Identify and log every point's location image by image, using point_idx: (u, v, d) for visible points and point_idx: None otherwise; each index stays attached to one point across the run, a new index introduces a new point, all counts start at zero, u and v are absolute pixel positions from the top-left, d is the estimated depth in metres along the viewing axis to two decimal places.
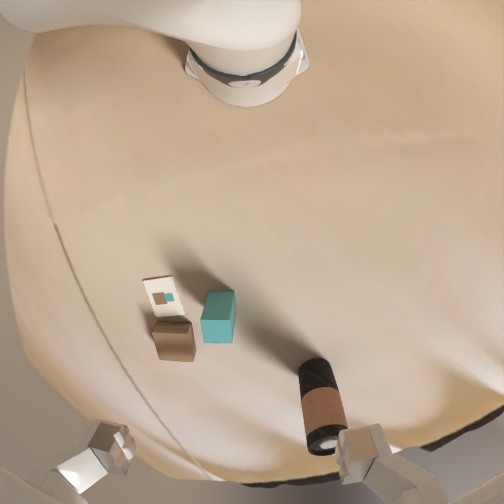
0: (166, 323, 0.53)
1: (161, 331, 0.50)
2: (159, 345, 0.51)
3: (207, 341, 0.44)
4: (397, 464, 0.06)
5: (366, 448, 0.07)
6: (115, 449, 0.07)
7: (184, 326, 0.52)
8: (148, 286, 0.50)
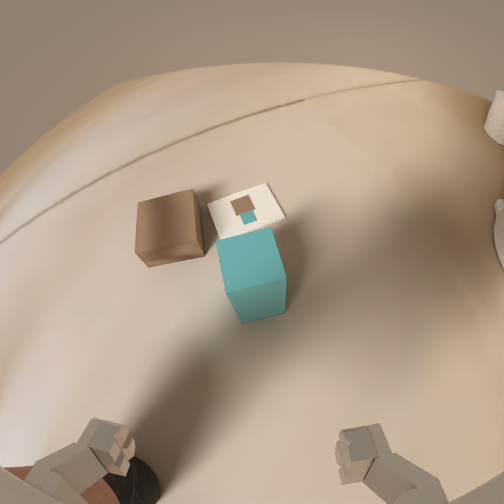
0: (200, 218, 0.34)
1: (194, 203, 0.32)
2: (166, 200, 0.32)
3: (220, 246, 0.22)
4: (397, 464, 0.06)
5: (366, 448, 0.07)
6: (115, 449, 0.07)
7: (201, 241, 0.32)
8: (259, 190, 0.36)
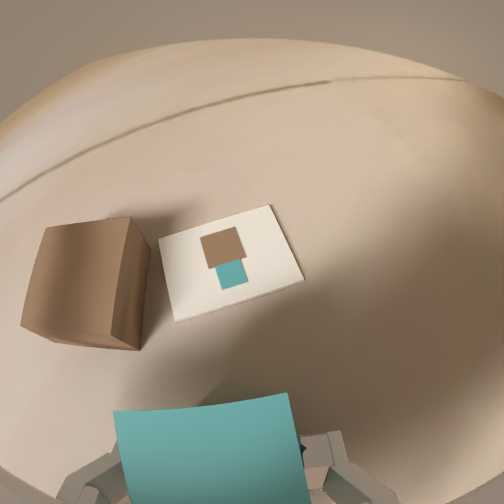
0: (143, 272, 0.17)
1: (127, 247, 0.15)
2: (83, 232, 0.15)
3: (125, 434, 0.06)
4: (352, 474, 0.06)
5: (322, 455, 0.07)
6: None
7: (131, 327, 0.15)
8: (256, 218, 0.19)
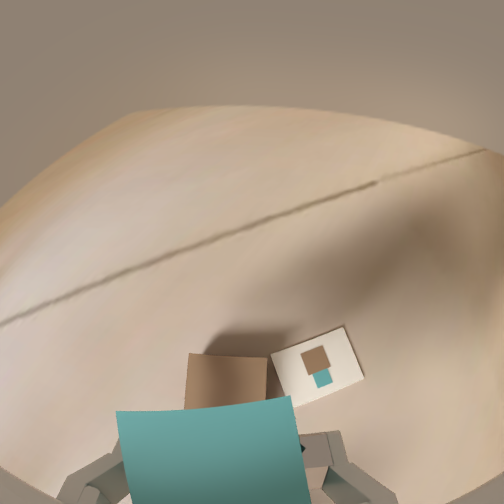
0: (266, 382, 0.26)
1: (266, 378, 0.23)
2: (229, 364, 0.24)
3: (127, 434, 0.06)
4: (351, 474, 0.06)
5: (321, 455, 0.07)
6: None
7: None
8: (335, 337, 0.28)
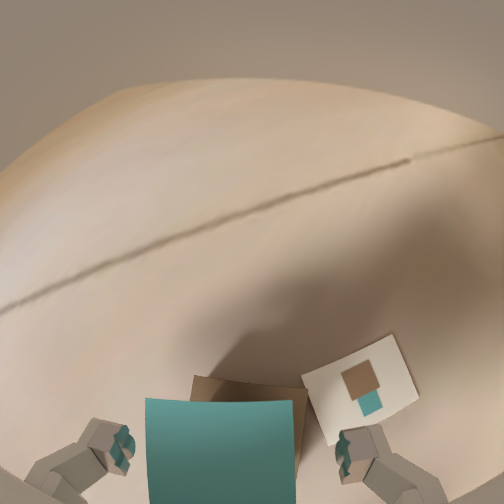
0: None
1: None
2: (253, 396, 0.16)
3: (153, 417, 0.07)
4: (397, 464, 0.06)
5: (366, 448, 0.07)
6: (115, 449, 0.07)
7: None
8: (383, 348, 0.20)
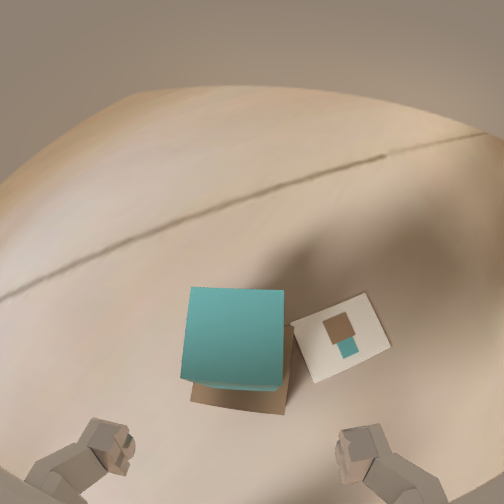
0: None
1: (291, 350, 0.21)
2: None
3: (195, 299, 0.14)
4: (397, 463, 0.06)
5: (366, 448, 0.07)
6: (115, 449, 0.07)
7: None
8: (357, 304, 0.26)
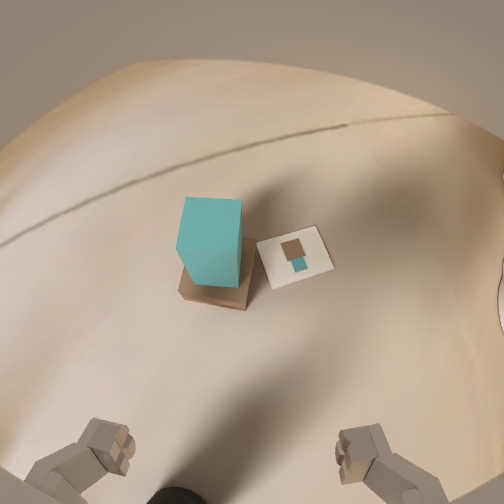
0: (252, 268, 0.33)
1: (253, 257, 0.31)
2: None
3: (187, 204, 0.22)
4: (396, 463, 0.06)
5: (366, 448, 0.07)
6: (115, 449, 0.07)
7: None
8: (309, 233, 0.35)
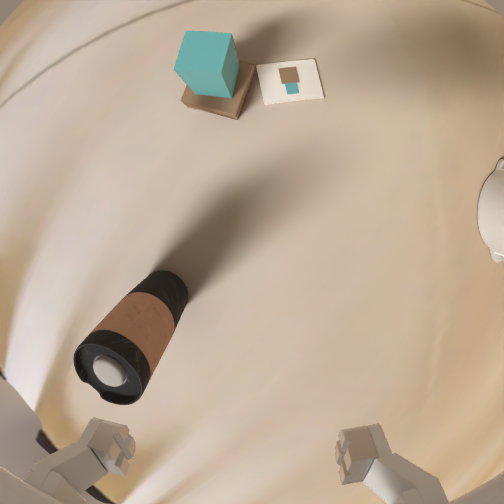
0: (249, 86, 0.33)
1: (249, 78, 0.30)
2: None
3: (186, 36, 0.21)
4: (397, 464, 0.06)
5: (366, 448, 0.07)
6: (115, 449, 0.07)
7: (239, 110, 0.33)
8: (306, 64, 0.32)
